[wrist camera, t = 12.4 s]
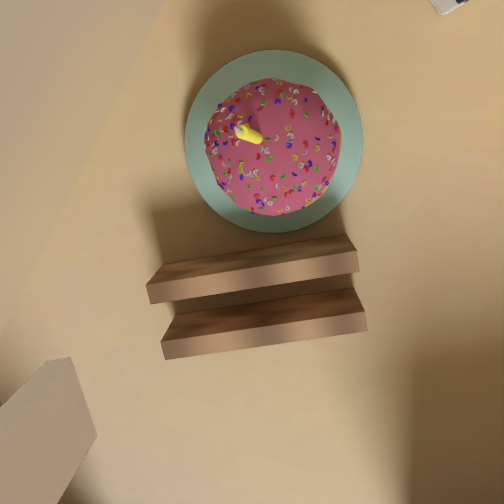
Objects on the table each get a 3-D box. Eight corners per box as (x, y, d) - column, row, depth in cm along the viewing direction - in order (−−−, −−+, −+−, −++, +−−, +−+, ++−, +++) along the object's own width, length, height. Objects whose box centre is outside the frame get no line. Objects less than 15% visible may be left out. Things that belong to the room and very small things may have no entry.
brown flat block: (179, 331, 39) (165, 360, 34) (175, 315, 38) (160, 341, 34) (356, 304, 37) (367, 331, 32) (353, 287, 37) (365, 311, 32)
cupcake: (193, 159, 34) (148, 175, 22) (260, 58, 32) (248, 17, 20) (287, 226, 35) (290, 275, 23) (357, 131, 32) (401, 133, 21)
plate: (207, 242, 36) (204, 245, 35) (170, 72, 33) (166, 70, 32) (370, 214, 35) (373, 217, 34) (348, 35, 32) (350, 31, 31)
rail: (167, 281, 38) (150, 304, 33) (163, 264, 37) (145, 285, 32) (349, 252, 36) (359, 271, 31) (346, 234, 36) (356, 250, 31)
